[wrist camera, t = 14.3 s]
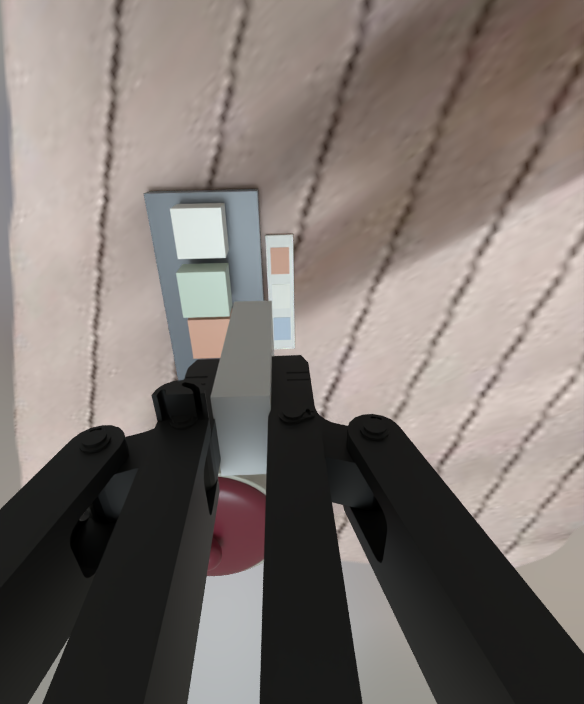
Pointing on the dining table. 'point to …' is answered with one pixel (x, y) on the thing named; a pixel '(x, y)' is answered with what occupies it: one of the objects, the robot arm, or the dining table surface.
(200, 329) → the key terracotta
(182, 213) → the key ivory
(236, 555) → the canister
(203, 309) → the key sage
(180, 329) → the keypad board
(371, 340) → the dining table surface
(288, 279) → the card
